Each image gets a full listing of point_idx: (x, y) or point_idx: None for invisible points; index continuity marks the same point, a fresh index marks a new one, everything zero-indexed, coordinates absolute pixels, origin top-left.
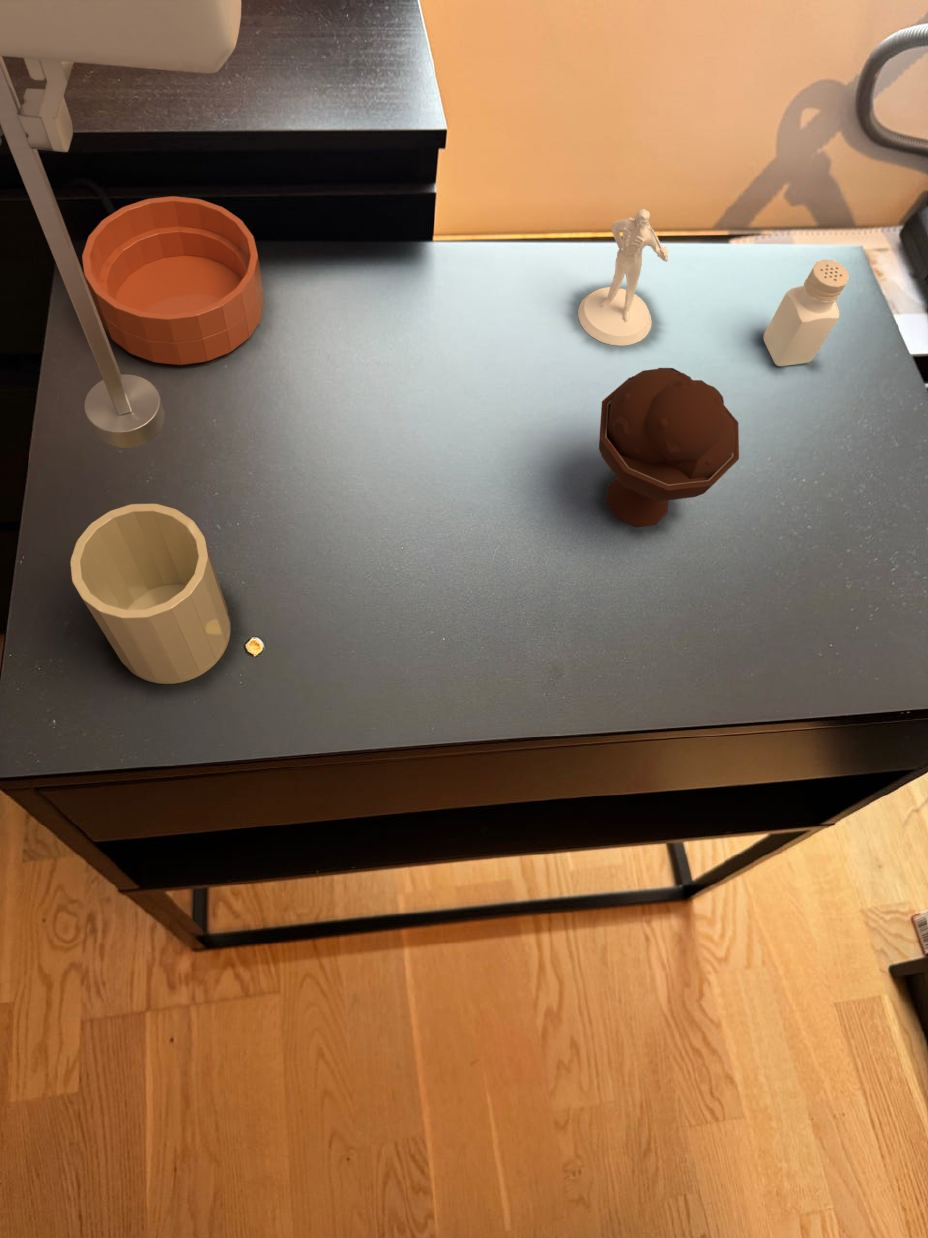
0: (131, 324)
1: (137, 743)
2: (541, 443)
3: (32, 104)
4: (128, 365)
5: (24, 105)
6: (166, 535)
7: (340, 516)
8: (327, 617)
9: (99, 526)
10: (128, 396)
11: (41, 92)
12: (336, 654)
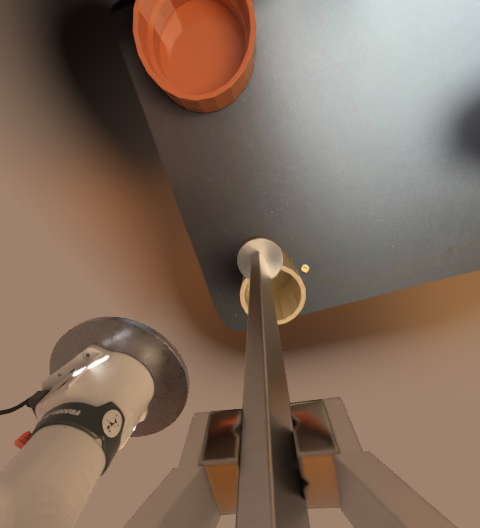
0: (190, 102)
1: None
2: (450, 102)
3: (322, 487)
4: (189, 117)
5: (308, 487)
6: None
7: (332, 190)
8: (335, 247)
9: (247, 283)
10: (262, 256)
11: (326, 459)
12: (342, 264)
